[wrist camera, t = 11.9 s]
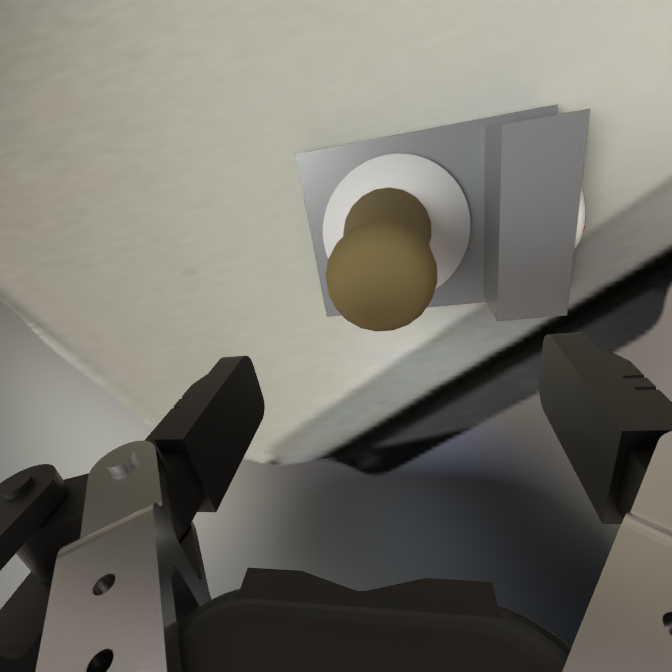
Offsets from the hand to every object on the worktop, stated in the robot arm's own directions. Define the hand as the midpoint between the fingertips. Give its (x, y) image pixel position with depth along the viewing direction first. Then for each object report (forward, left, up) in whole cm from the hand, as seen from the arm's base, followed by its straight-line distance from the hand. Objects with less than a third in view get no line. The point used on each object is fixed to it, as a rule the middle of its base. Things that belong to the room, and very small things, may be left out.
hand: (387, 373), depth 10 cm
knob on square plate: (-2, 0, -21) cm, 21 cm away
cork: (+1, 0, -18) cm, 18 cm away
